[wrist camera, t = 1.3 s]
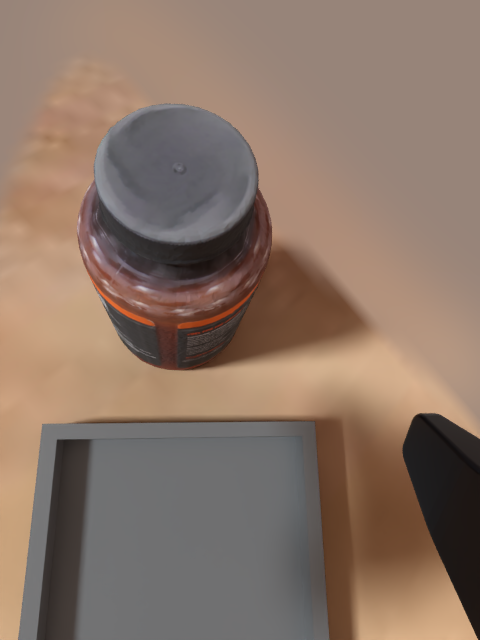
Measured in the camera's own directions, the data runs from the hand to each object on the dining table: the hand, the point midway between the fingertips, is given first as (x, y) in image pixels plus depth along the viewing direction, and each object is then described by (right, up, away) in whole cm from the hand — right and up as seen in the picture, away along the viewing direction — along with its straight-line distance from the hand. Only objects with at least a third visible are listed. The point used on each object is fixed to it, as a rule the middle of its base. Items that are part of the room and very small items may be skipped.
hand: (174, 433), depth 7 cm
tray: (-1, -8, +10) cm, 13 cm away
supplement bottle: (-2, +2, +14) cm, 14 cm away
